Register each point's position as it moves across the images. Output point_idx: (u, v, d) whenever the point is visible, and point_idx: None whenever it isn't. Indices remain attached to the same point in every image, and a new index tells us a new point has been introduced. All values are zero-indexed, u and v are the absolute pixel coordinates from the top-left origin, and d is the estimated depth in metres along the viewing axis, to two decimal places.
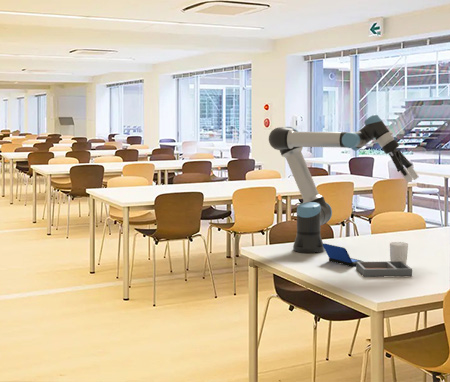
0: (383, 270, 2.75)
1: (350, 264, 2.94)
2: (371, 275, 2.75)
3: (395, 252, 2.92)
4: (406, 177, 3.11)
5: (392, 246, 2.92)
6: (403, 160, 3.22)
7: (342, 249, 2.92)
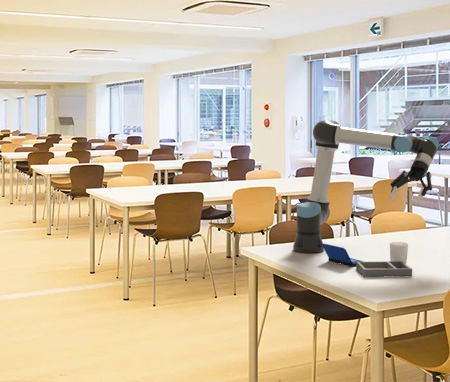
0: (383, 270, 2.75)
1: (350, 264, 2.94)
2: (371, 275, 2.75)
3: (395, 252, 2.92)
4: (420, 196, 2.98)
5: (392, 246, 2.92)
6: (405, 182, 3.10)
7: (342, 249, 2.92)
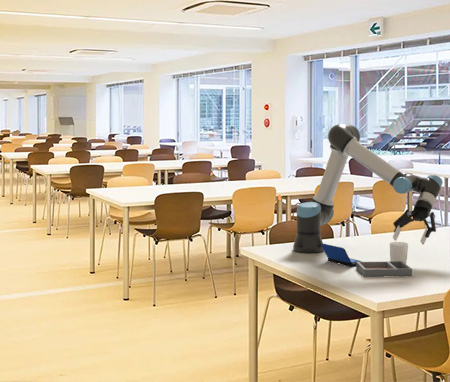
0: (383, 270, 2.75)
1: (349, 264, 2.93)
2: (371, 275, 2.75)
3: (395, 252, 2.92)
4: (424, 237, 2.94)
5: (392, 246, 2.92)
6: (408, 221, 3.05)
7: (341, 249, 2.91)
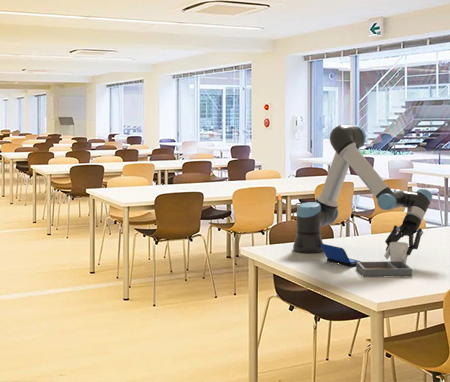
0: (383, 270, 2.75)
1: (348, 264, 2.93)
2: (371, 275, 2.75)
3: (395, 252, 2.92)
4: (405, 255, 2.90)
5: (392, 246, 2.92)
6: (399, 238, 3.00)
7: (340, 249, 2.91)
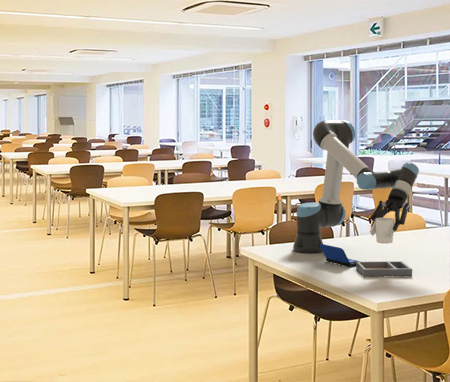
0: (383, 270, 2.75)
1: (347, 264, 2.93)
2: (371, 275, 2.75)
3: (381, 228, 2.79)
4: (391, 230, 2.78)
5: (378, 222, 2.80)
6: (385, 213, 2.87)
7: (339, 249, 2.91)
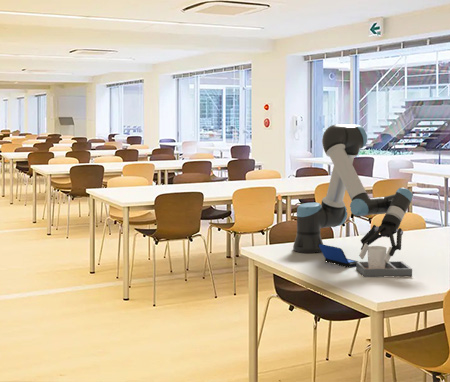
0: (383, 270, 2.75)
1: (346, 265, 2.93)
2: (371, 275, 2.75)
3: (373, 256, 2.79)
4: (388, 256, 2.76)
5: (370, 250, 2.79)
6: (376, 238, 2.87)
7: (338, 249, 2.91)
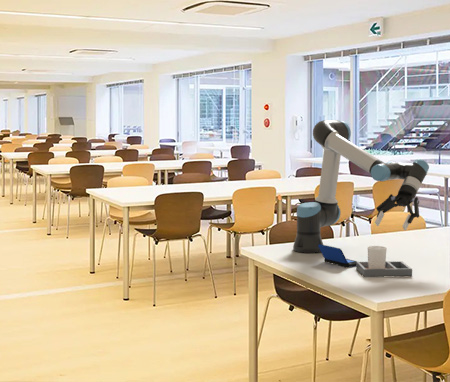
0: (383, 270, 2.75)
1: (346, 265, 2.92)
2: (371, 275, 2.75)
3: (373, 256, 2.79)
4: (406, 223, 2.85)
5: (370, 250, 2.79)
6: (392, 207, 2.96)
7: (338, 250, 2.90)
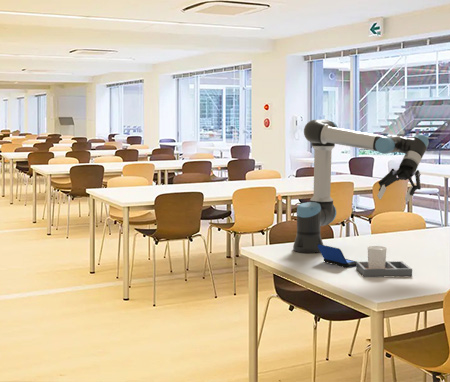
0: (383, 270, 2.75)
1: (345, 265, 2.92)
2: (371, 275, 2.75)
3: (373, 256, 2.79)
4: (408, 195, 2.90)
5: (370, 250, 2.79)
6: (393, 180, 3.02)
7: (337, 250, 2.90)
